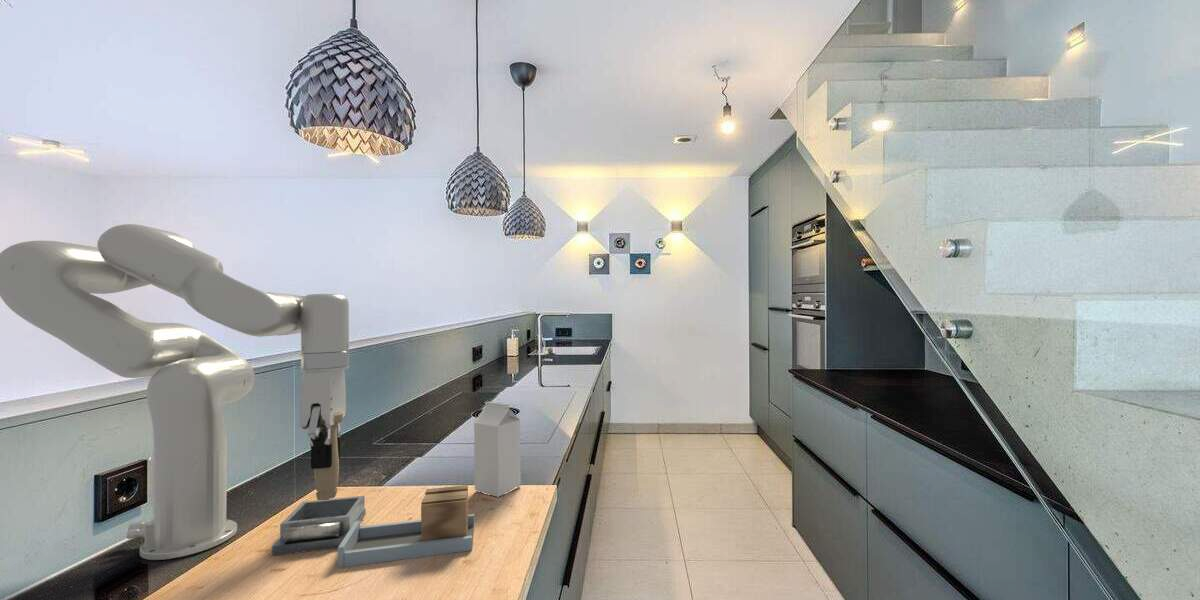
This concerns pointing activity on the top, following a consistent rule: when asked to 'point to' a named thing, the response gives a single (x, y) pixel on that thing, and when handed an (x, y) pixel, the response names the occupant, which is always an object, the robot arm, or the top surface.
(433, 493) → the crate
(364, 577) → the top surface
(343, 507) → the gray square tray
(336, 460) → the handle
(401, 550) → the bay
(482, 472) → the milk carton
